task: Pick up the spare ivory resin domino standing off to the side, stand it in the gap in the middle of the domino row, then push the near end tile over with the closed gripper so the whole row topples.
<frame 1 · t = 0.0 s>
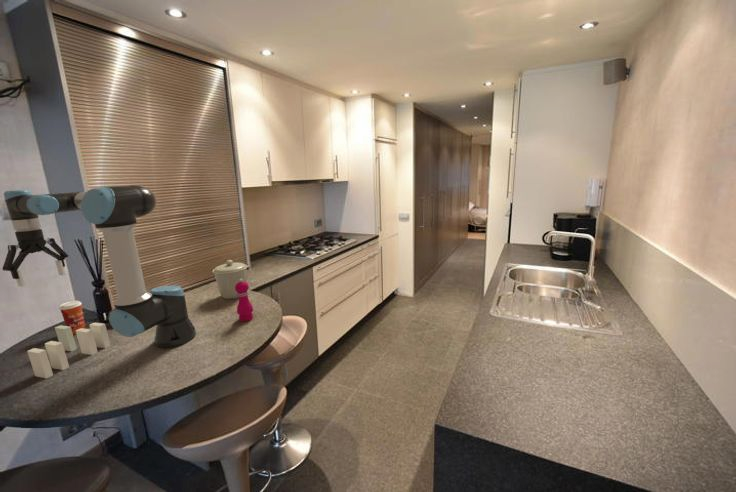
hand: (43, 280, 133), 28 cm above the worktop, fingers open, 13 cm apart
domino 4: (60, 367, 120), on the worktop
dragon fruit: (120, 322, 156), on the worktop
pepper mill: (246, 318, 154), on the worktop
domino 5: (44, 375, 115), on the worktop
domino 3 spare: (69, 349, 133), on the worktop
domino 1: (102, 346, 134), on the worktop
canister: (234, 296, 184), on the worktop
paper cup: (78, 332, 148), on the worktop
domino 2: (89, 352, 129), on the worktop
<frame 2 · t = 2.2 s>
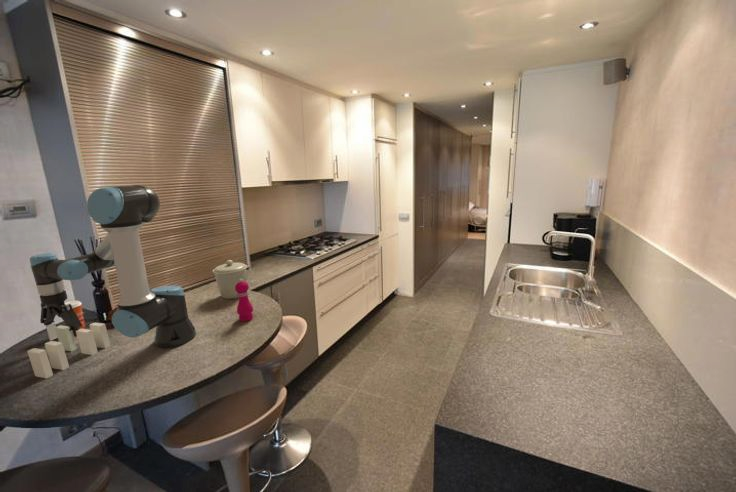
hand: (65, 341, 132), 4 cm above the worktop, fingers open, 13 cm apart
domino 2: (89, 353, 129), on the worktop, touching gripper
everything else where it was.
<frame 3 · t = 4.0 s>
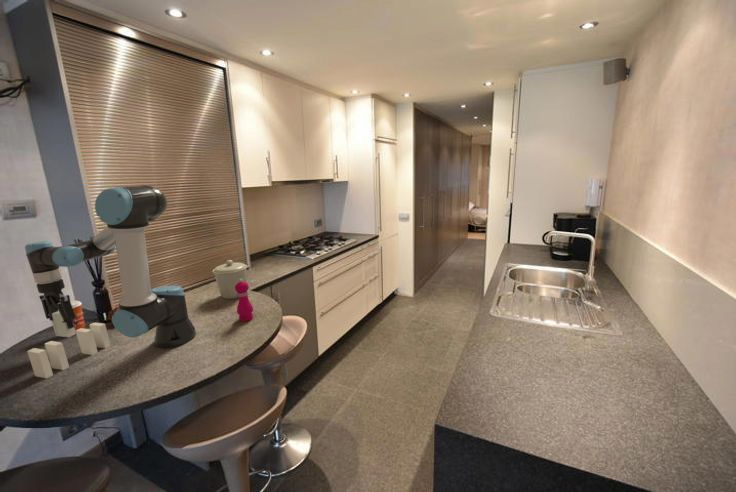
hand: (66, 334, 131), 7 cm above the worktop, fingers closed on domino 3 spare, 6 cm apart
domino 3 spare: (66, 335, 131), point 6 cm above the worktop, touching gripper
domino 2: (89, 352, 129), on the worktop
everything else where it was.
when the fingers open (0 cm above the worktop, at t = 8.2 s): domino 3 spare stays where it is, on the worktop.
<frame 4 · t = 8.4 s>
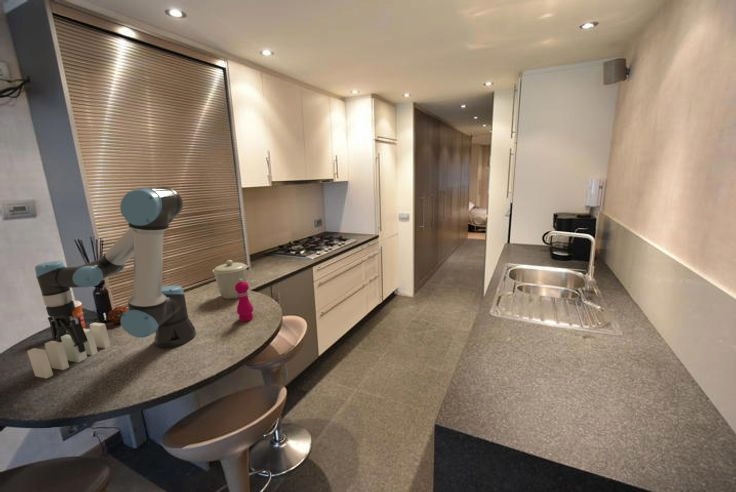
hand: (75, 357, 124), 1 cm above the worktop, fingers open, 8 cm apart
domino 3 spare: (75, 359, 125), on the worktop
everything else where it was.
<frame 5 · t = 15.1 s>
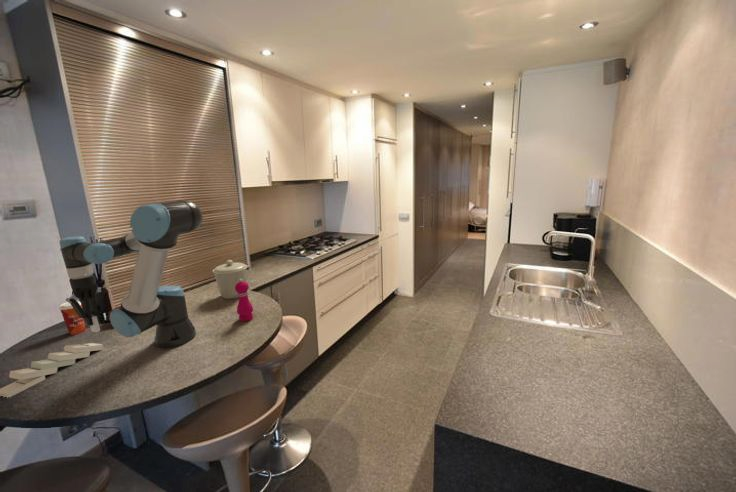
hand: (96, 331, 131), 7 cm above the worktop, fingers closed
domino 4: (51, 368, 117), point 1 cm above the worktop, tilted 68°, touching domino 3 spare, domino 5
domino 5: (39, 376, 114), on the worktop, tilted 90°, touching domino 4
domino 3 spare: (69, 360, 123), point 1 cm above the worktop, tilted 68°, touching domino 2, domino 4
domino 1: (97, 346, 132), point 1 cm above the worktop, tilted 66°, touching domino 2
domino 2: (84, 353, 127), point 1 cm above the worktop, tilted 67°, touching domino 1, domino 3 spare
everything else where it was.
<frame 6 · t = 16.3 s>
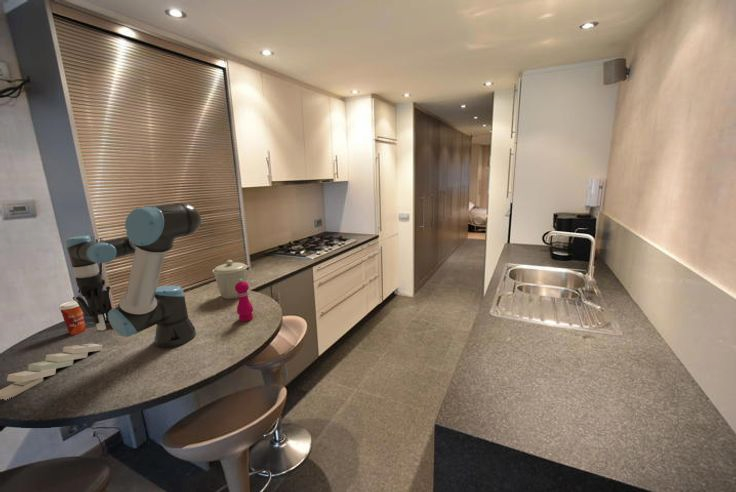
hand: (101, 329, 133), 7 cm above the worktop, fingers closed
domino 4: (48, 370, 116), point 1 cm above the worktop, tilted 69°, touching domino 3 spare
domino 5: (37, 378, 113), on the worktop, tilted 90°
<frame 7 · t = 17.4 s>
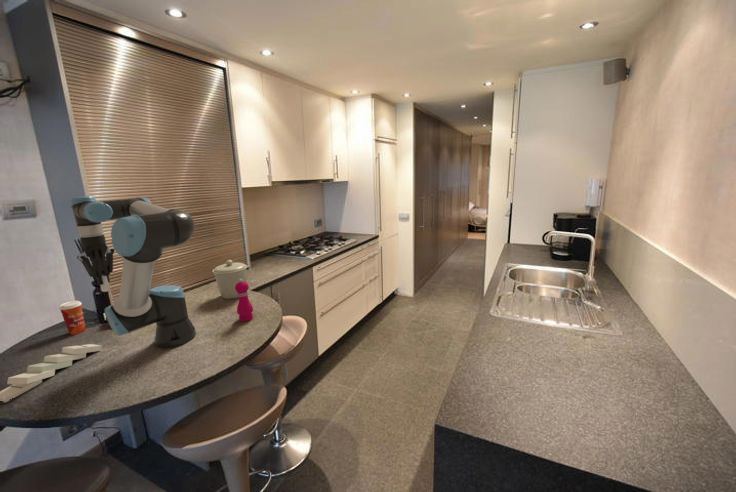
hand: (105, 290, 134), 22 cm above the worktop, fingers closed
domino 4: (45, 372, 115), point 1 cm above the worktop, tilted 70°, touching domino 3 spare, domino 5
domino 5: (35, 380, 112), on the worktop, tilted 90°, touching domino 4
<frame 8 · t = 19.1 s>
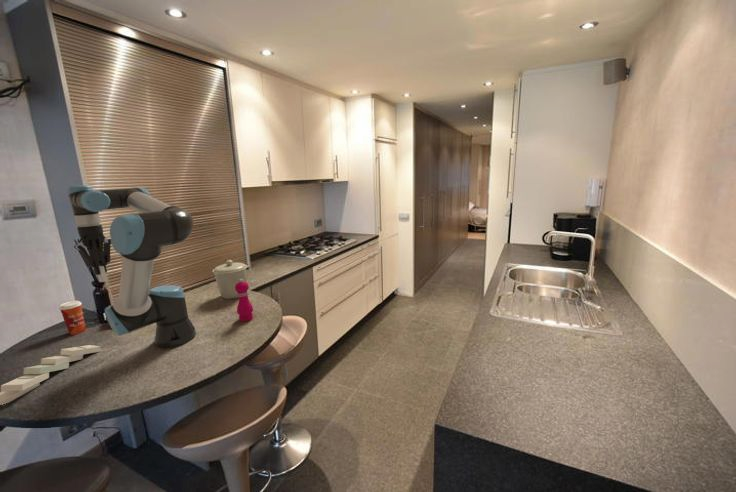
hand: (103, 281, 133), 26 cm above the worktop, fingers closed
domino 4: (39, 375, 112), point 2 cm above the worktop, tilted 77°, touching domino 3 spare, domino 5
domino 5: (32, 382, 110), on the worktop, tilted 90°, touching domino 4
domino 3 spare: (61, 365, 120), point 1 cm above the worktop, tilted 67°, touching domino 4
domino 2: (76, 356, 125), point 1 cm above the worktop, tilted 68°, touching domino 1
at the end: domino 5 tilted 90°; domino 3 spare inside the target area (3.5 cm from its centre), point 0.9 cm above the worktop; domino 1 tilted 69° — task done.
